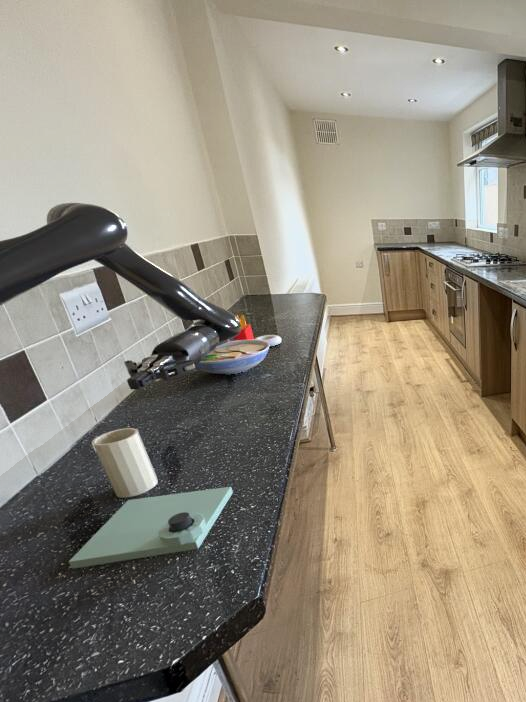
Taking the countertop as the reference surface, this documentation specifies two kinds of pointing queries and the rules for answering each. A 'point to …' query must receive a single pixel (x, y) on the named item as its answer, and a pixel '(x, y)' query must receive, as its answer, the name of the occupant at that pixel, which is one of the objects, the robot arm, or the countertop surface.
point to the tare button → (180, 522)
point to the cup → (125, 462)
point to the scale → (153, 527)
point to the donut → (270, 339)
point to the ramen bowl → (234, 356)
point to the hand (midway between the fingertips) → (133, 385)
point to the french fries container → (244, 330)
